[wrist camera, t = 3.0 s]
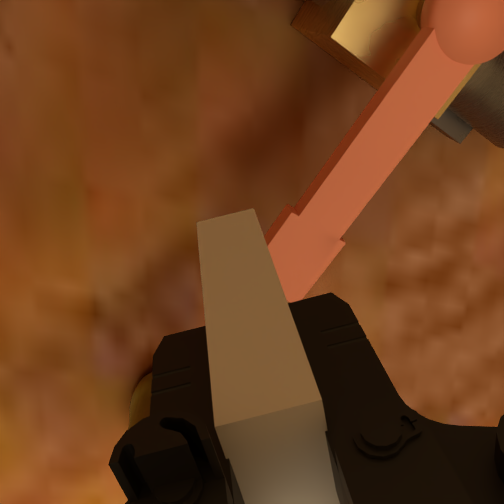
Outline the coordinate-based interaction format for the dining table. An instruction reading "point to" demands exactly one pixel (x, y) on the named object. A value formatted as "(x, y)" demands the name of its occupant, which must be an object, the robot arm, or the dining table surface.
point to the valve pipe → (391, 50)
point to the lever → (383, 136)
